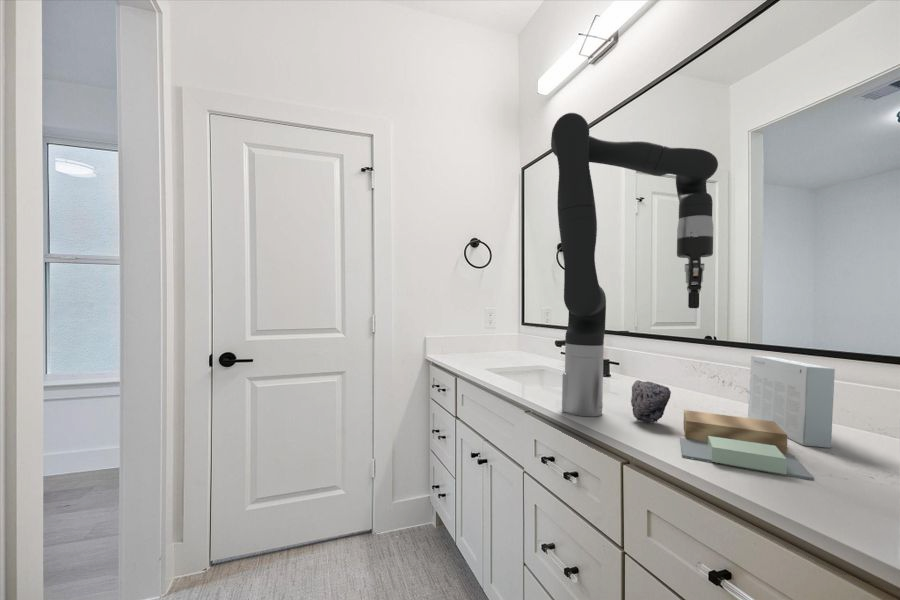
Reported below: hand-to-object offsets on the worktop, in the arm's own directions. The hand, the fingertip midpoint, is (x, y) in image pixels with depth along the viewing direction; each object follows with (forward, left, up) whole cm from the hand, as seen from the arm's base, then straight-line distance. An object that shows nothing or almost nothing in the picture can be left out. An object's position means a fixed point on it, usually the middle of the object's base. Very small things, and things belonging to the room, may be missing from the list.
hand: (693, 308), depth 97 cm
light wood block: (+6, -14, -27) cm, 31 cm away
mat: (+6, -24, -27) cm, 37 cm away
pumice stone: (-9, -9, -27) cm, 30 cm away
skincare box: (+18, +1, -27) cm, 33 cm away
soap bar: (+6, -27, -24) cm, 37 cm away
